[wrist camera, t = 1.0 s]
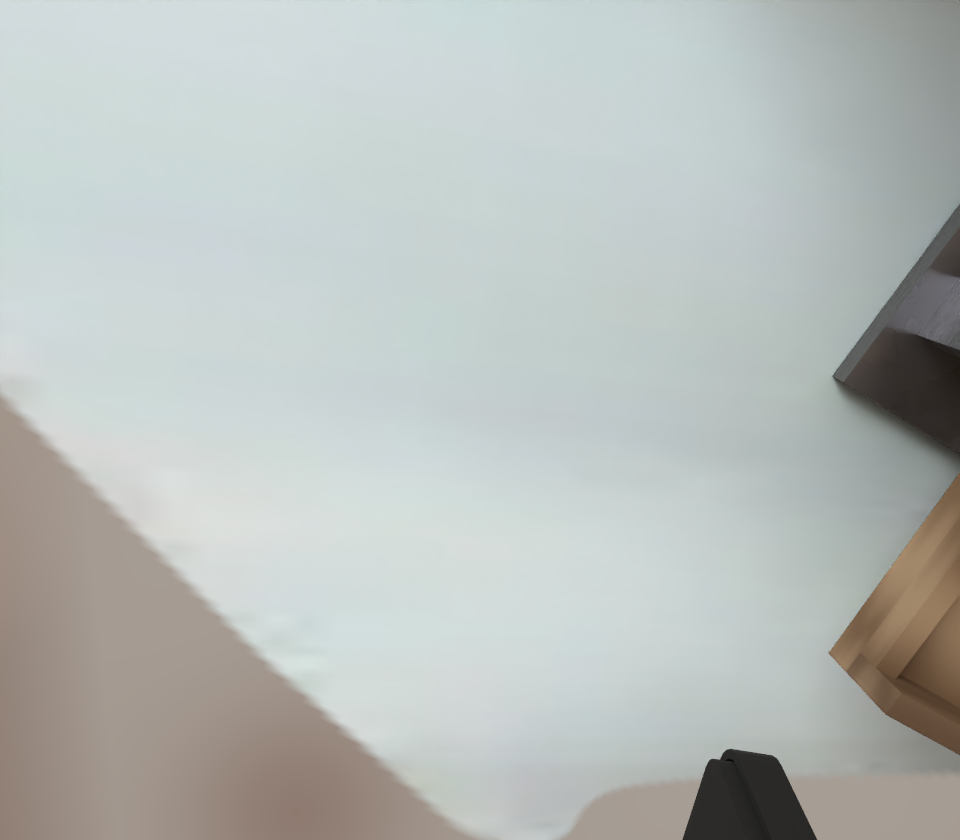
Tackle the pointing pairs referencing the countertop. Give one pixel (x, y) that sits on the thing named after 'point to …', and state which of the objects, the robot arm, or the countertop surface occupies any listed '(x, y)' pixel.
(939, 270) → the pivot stand
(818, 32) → the countertop surface
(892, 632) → the balance beam
